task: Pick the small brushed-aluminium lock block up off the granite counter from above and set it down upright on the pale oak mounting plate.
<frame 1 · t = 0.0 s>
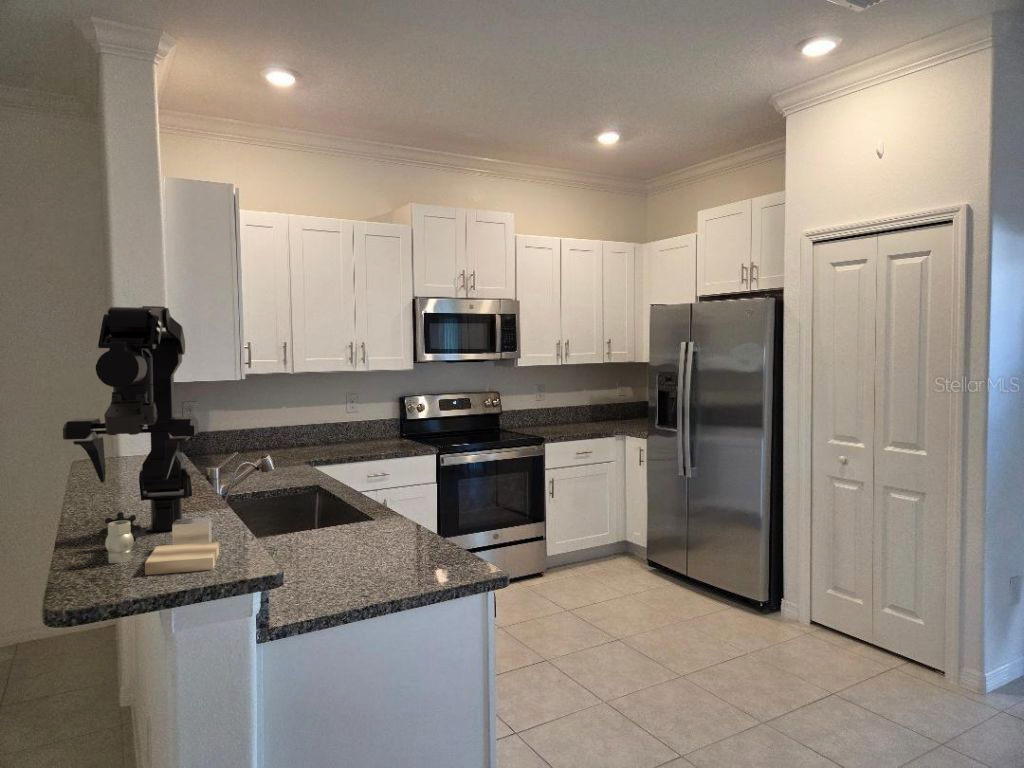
hand: (134, 480, 113), 15 cm above the table, tool pointing down, fingers open, 9 cm apart
valve: (120, 556, 122), on the table
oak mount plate: (184, 563, 117), on the table
aluminium lock block: (192, 548, 126), on the table
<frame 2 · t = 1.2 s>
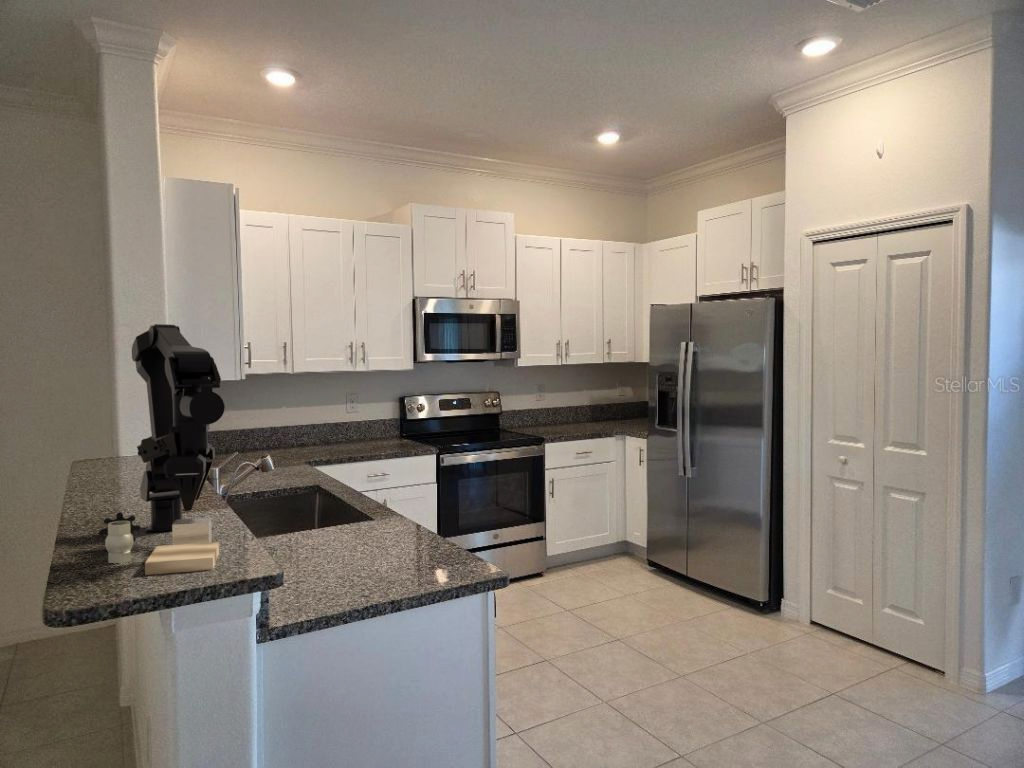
hand: (191, 505, 126), 8 cm above the table, tool pointing down, fingers open, 9 cm apart
nothing on the table moved.
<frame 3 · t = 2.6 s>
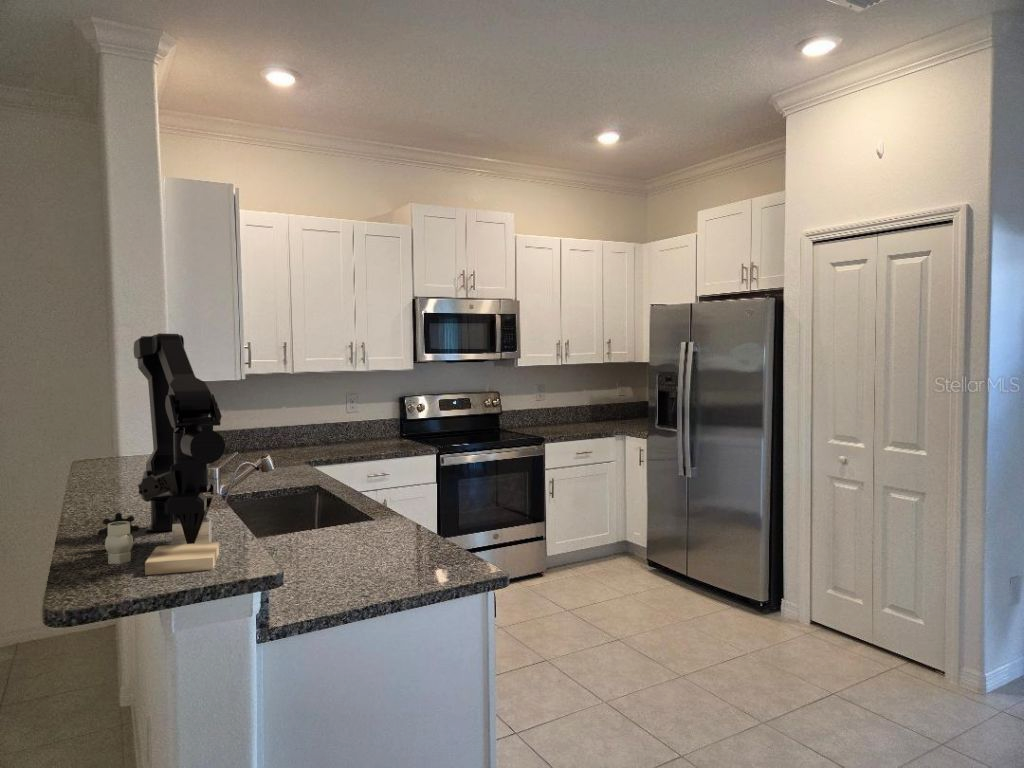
hand: (192, 542, 126), 1 cm above the table, tool pointing down, fingers closed on aluminium lock block, 4 cm apart
aluminium lock block: (192, 547, 126), on the table, touching gripper
everything else where it was.
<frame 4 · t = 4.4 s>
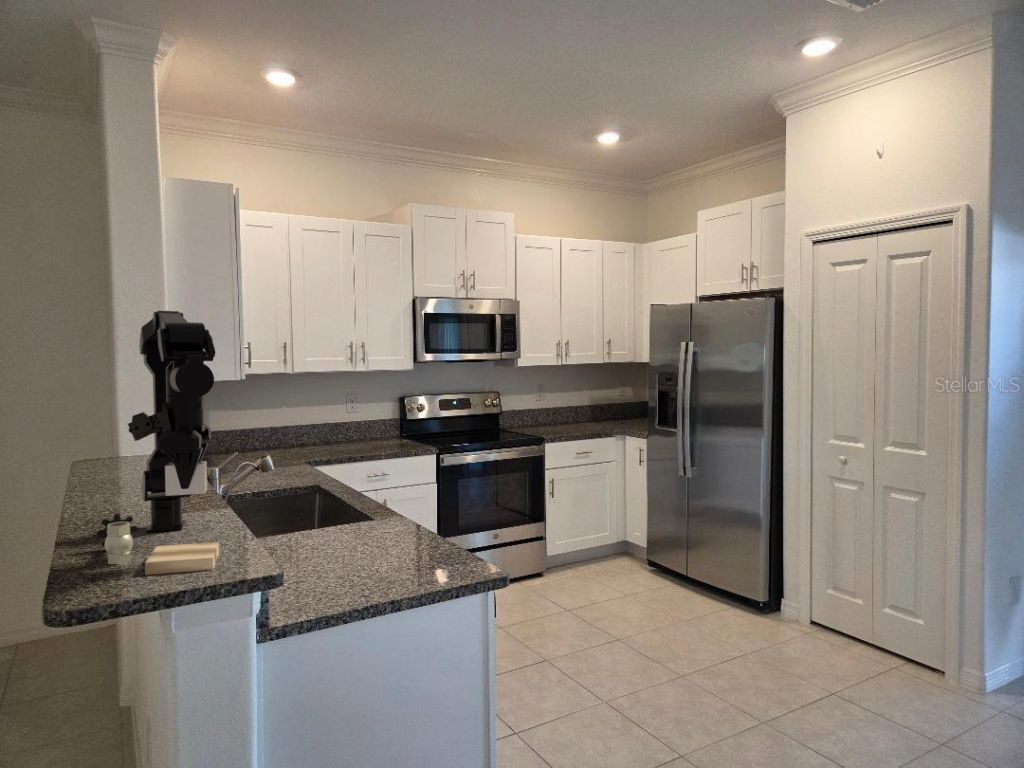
hand: (186, 486, 119), 13 cm above the table, tool pointing down, fingers closed on aluminium lock block, 4 cm apart
aluminium lock block: (186, 492, 119), point 12 cm above the table, touching gripper
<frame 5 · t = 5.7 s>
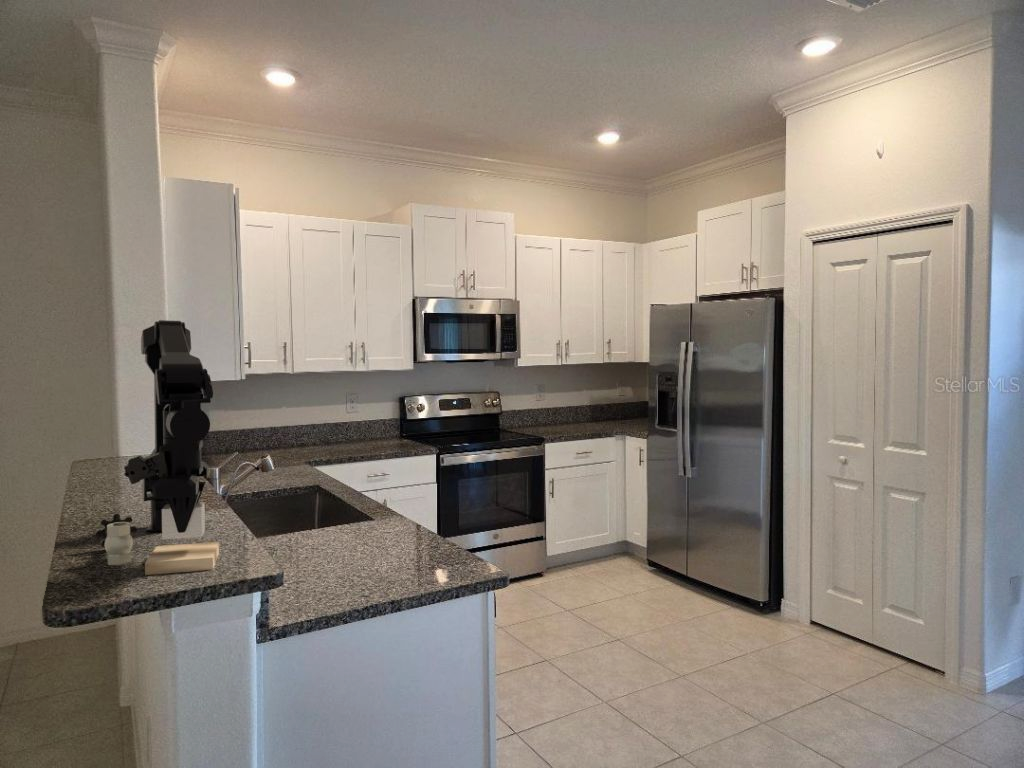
hand: (183, 529, 117), 6 cm above the table, tool pointing down, fingers closed on aluminium lock block, 4 cm apart
aluminium lock block: (184, 535, 117), point 5 cm above the table, touching gripper
when the fingers open (4 cm above the table, at t = 6.7 s): aluminium lock block drops 1 cm, resting on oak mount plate.
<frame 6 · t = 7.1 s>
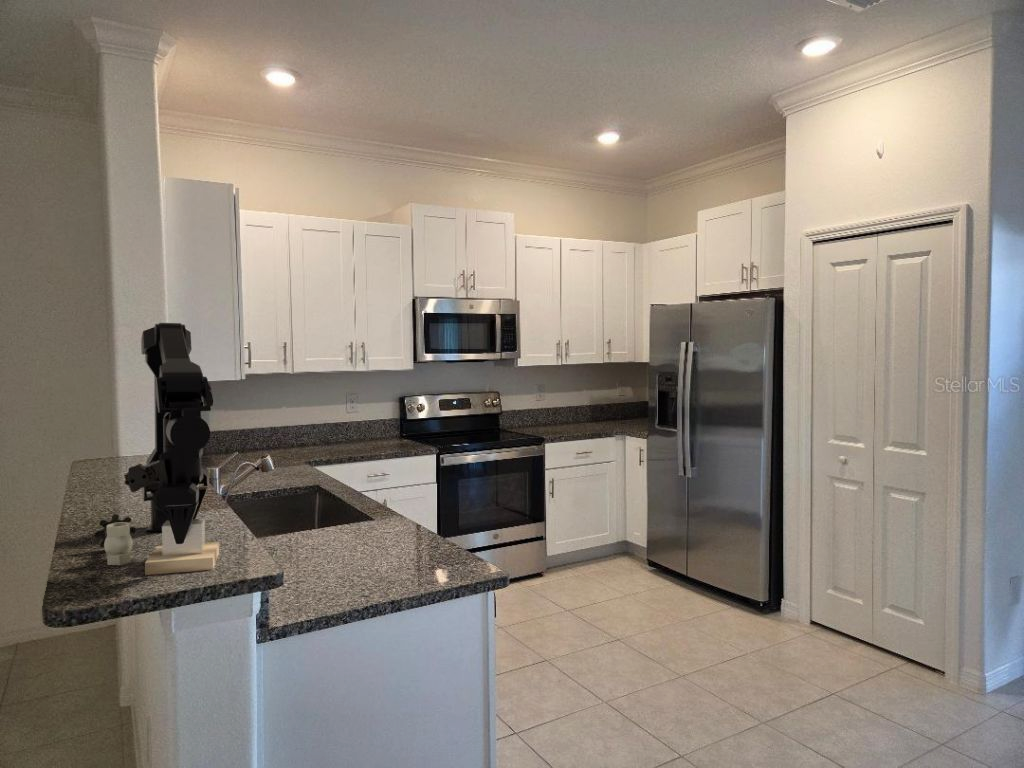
hand: (183, 537, 117), 4 cm above the table, tool pointing down, fingers open, 8 cm apart
aluminium lock block: (184, 551, 117), point 2 cm above the table, touching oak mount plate
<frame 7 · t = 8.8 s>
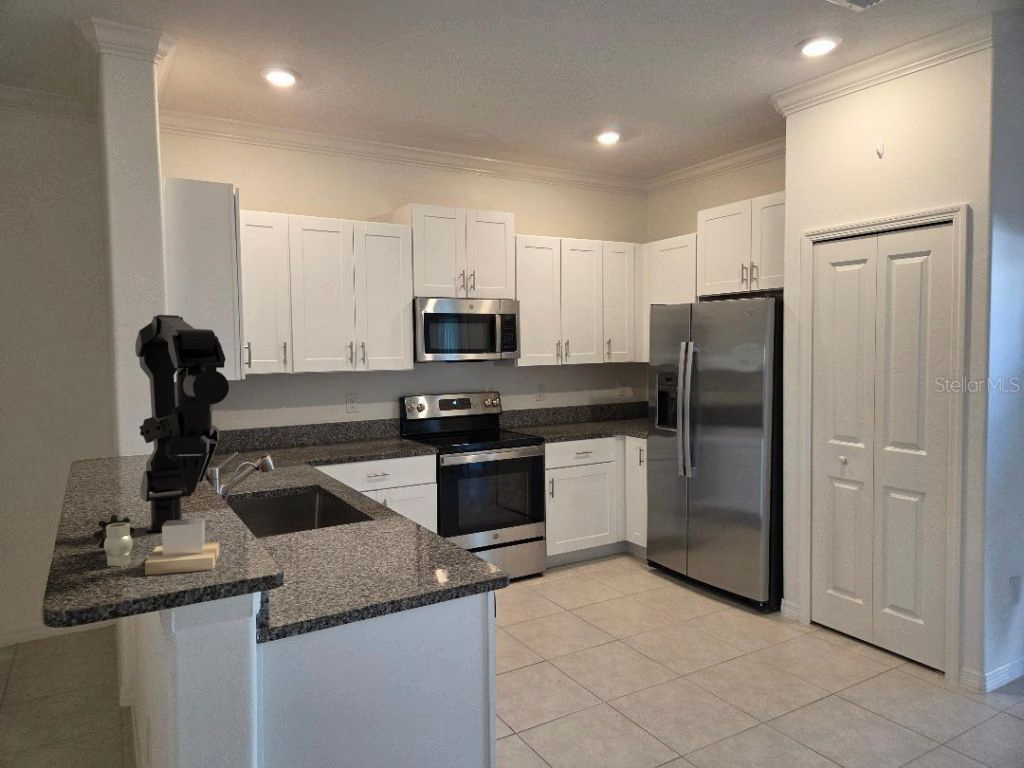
hand: (195, 487, 124), 12 cm above the table, tool pointing down, fingers open, 9 cm apart
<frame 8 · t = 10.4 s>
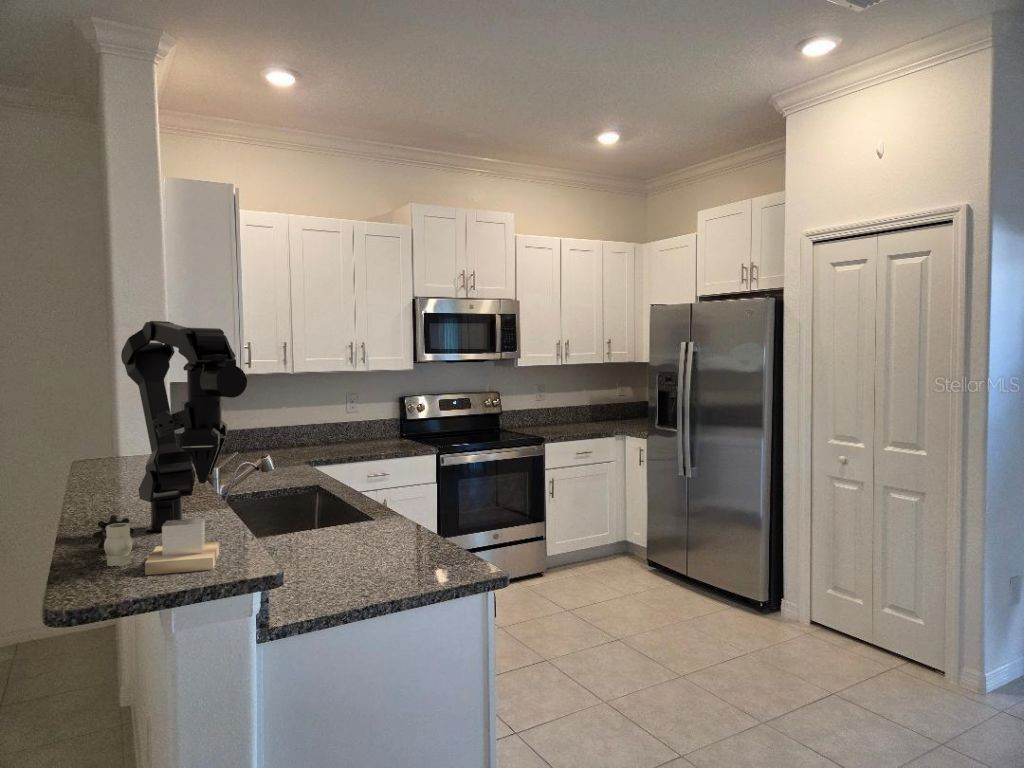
hand: (205, 478, 129), 12 cm above the table, tool pointing down, fingers open, 9 cm apart
at the end: aluminium lock block 0.0 cm off-centre on the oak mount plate, point 2.0 cm above the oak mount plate's base; aluminium lock block tilted 0°; the gripper is holding nothing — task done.
